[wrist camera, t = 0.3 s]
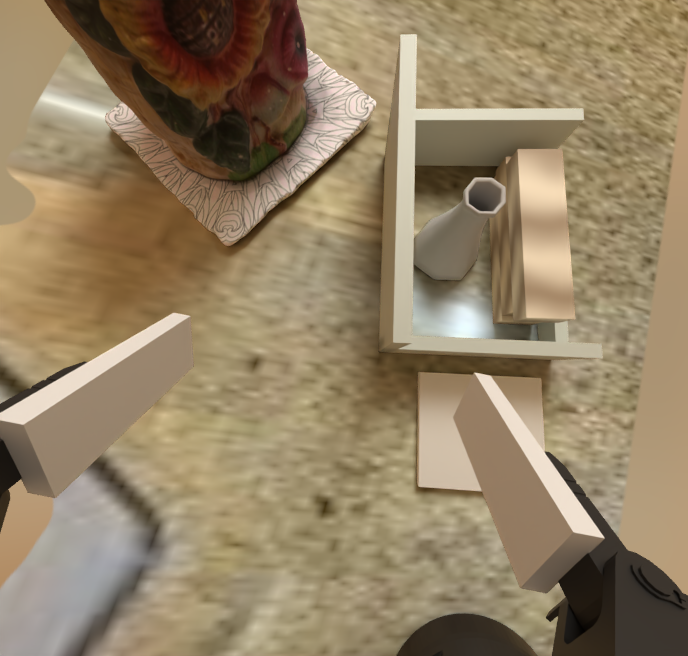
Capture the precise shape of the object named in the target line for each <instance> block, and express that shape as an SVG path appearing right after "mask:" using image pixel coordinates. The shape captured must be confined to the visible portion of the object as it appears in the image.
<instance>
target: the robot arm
mask: <svg viewBox="0 0 688 656" xmlns="http://www.w3.org/2000/svg"><path fill="white" fill-rule="evenodd" d="M193 367H194V361H193V346H192V332H191V317H190V316H188V315H183V314H178V313H172V314H171V315H169V316H167V317H165V318H164V319H162V320H160V321H158V322H157V323H155V324H153V325H151V326H150V327H148V328H146V329H145V330H143V331H141V332H139V333H138V334H136V335H134V336H132V337H131V338H129V339H127V340H126V341H124V342H122V343H120V344H119V345H117V346H115V347H113V348H112V349H110V350H108V351H107V352H105V353H103V354H101V355H100V356H98V357H96V358H94V359H93V360H91V361H89V362H82V363H79V364H76V365H73V366H70V367H67V368H64V369H62V370H61V371H59V372H57V373H55V374H53V375H52V376H50V377H48V378H47V379H46V380H43V381H41V382H39V383H37V384H35V385H33V386H32V388H31V389H26V390H24V391H23V392H21V393H19V394H17V395H15V396H14V397H12V398H10V399H8V400H6V401H5V402H3V403H1V404H0V532H1V528H2V525H3V522H4V518H5V515H6V511H7V508H8V504H9V501H10V492H9V490H8V489H9V488H10V487H11V486H13V485H14V484H15V483H16V482H18V481H19V480H20V479H21V480H22V481H23V484H24V486H25V487H26V489H27V491H28V493H32V494H37V495H42V496H47V497H52V498H56V497H57V496H58V495H59V494H60V493H62V492H63V491H64V490H65V489H66V488H67V487H68V486H69V485H70V484H71V483H72V482H73V481H74V480H75V479H76V478H77V477H78V476H79V475H80V474H81V473H82V472H84V471H85V470H86V469H87V468H88V467H89V466H90V465H91V464H92V463H93V462H94V461H95V460H96V459H97V458H98V457H99V456H100V455H101V454H102V453H103V452H105V451H106V450H107V449H108V448H109V447H110V446H111V445H112V444H113V443H114V442H115V441H116V440H117V439H118V438H119V437H120V436H121V435H122V434H123V433H124V432H125V431H127V430H128V429H129V428H130V427H131V426H132V425H133V424H134V423H135V422H136V421H137V420H138V419H139V418H140V417H141V416H142V415H143V414H144V413H145V412H146V411H147V410H149V409H150V408H151V407H152V406H153V405H154V404H155V403H156V402H157V401H158V400H159V399H160V398H161V397H162V396H163V395H164V394H165V393H166V392H167V391H168V390H170V389H171V388H172V387H173V386H174V385H175V384H176V383H177V382H178V381H179V380H180V379H181V378H182V377H183V376H184V375H185V374H186V373H187V372H188V371H189V370H190V369H192V368H193ZM453 419H454V422H455V424H456V427H457V429H458V432H459V434H460V437H461V439H462V442H463V444H464V447H465V449H466V452H467V455H468V457H469V460H470V462H471V465H472V467H473V470H474V472H475V475H476V477H477V480H478V482H479V485H480V488H481V490H482V493H483V495H484V498H485V500H486V503H487V505H488V508H489V510H490V513H491V515H492V518H493V521H494V523H495V526H496V528H497V531H498V533H499V536H500V538H501V541H502V543H503V546H504V548H505V551H506V554H507V556H508V559H509V561H510V564H511V566H512V569H513V571H514V574H515V576H516V579H517V581H518V584H519V587H520V588H522V589H527V590H533V591H538V592H543V593H548V592H549V591H550V590H551V589H552V588H553V587H554V586H555V585H556V584H557V583H558V582H559V584H560V586H561V588H562V590H563V592H564V594H565V596H566V597H565V598H564V599H563V600H562V601H561V602H560V603H559V604H557V605H556V606H555V607H554V608H553V609H552V610H551V611H549V613H548V615H547V616H546V618H547V619H548V620H549V621H550V622H551V621H552V620H553V619H554V618H556V617H557V616H558V621H557V627H556V633H555V640H554V646H553V652H552V656H688V595H686V594H683V593H682V592H681V590H680V589H679V588H678V586H677V585H676V584H675V583H674V582H673V581H672V580H671V579H670V578H669V577H668V576H667V575H666V574H665V573H664V572H663V571H662V570H661V569H659V568H658V567H657V566H656V565H654V564H653V563H652V562H650V561H649V560H647V559H646V558H644V557H642V556H640V555H639V554H637V553H634V552H631V551H628V550H627V549H626V548H625V546H624V545H623V544H622V542H621V541H620V539H619V538H618V537H617V535H616V534H615V533H614V531H613V530H612V529H611V527H610V526H609V525H608V523H607V522H606V521H605V519H604V518H603V517H602V515H601V514H600V513H599V511H598V510H597V509H596V507H595V506H594V505H593V503H592V502H591V501H590V499H589V498H588V497H586V494H585V492H584V491H583V490H582V488H581V487H580V486H579V484H576V480H575V479H574V478H573V476H572V475H571V474H570V472H569V471H568V470H567V468H566V467H565V466H564V465H563V464H562V463H561V462H560V461H559V460H558V459H556V458H555V457H554V456H553V455H552V454H551V453H550V452H545V451H543V450H542V448H541V447H540V445H539V444H538V442H537V441H536V440H535V438H534V437H533V435H532V434H531V433H530V431H529V430H528V428H527V427H526V425H525V424H524V423H523V421H522V420H521V418H520V417H519V415H518V414H517V413H516V411H515V410H514V408H513V407H512V405H511V404H510V403H509V401H508V400H507V398H506V397H505V396H504V394H503V393H502V391H501V390H500V388H499V387H498V386H497V384H496V383H495V381H494V380H493V378H492V377H491V376H490V375H485V374H479V373H474V374H473V376H472V378H471V380H470V382H469V384H468V387H467V389H466V391H465V393H464V395H463V397H462V399H461V401H460V404H459V406H458V408H457V410H456V412H455V414H454V416H453ZM397 656H537V655H536V653H535V652H534V651H533V649H532V648H531V647H530V646H529V645H528V644H527V643H526V642H525V641H524V640H523V639H522V638H521V637H520V636H519V635H518V634H516V633H515V632H514V631H513V630H511V629H510V628H508V627H507V626H505V625H503V624H501V623H499V622H497V621H495V620H493V619H490V618H487V617H484V616H479V615H474V614H452V615H447V616H443V617H440V618H437V619H435V620H433V621H430V622H429V623H427V624H425V625H424V626H422V627H421V628H419V629H418V630H417V631H416V632H415V633H414V634H413V635H412V636H411V637H410V638H409V639H408V640H407V641H406V642H405V644H404V645H403V647H402V648H401V650H400V651H399V653H398V655H397Z"/></svg>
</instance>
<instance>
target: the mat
mask: <svg viewBox="0 0 688 656" xmlns="http://www.w3.org/2000/svg"><path fill="white" fill-rule="evenodd" d="M472 376H473V375H470V374H450V373H430V372H418V422H417V485H418V487H429V488H442V489H456V490H470V491H482V490H481V488H480V485H479V482H478V480H477V477H476V475H475V472H474V470H473V467H472V465H471V462H470V460H469V457H468V455H467V452H466V449H465V447H464V444H463V442H462V439H461V437H460V434H459V432H458V429H457V427H456V424H455V422H454V419H453V416H454V414H455V412H456V410H457V408H458V406H459V404H460V401H461V399H462V397H463V395H464V393H465V391H466V389H467V387H468V384H469V382H470V380H471V378H472ZM491 377H492V378H493V380H494V381H495V383H496V384H497V386H498V387H499V388H500V390H501V391H502V393H503V394H504V396H505V397H506V398H507V400H508V401H509V403H510V404H511V405H512V407H513V408H514V410H515V411H516V413H517V414H518V415H519V417H520V418H521V420H522V421H523V423H524V424H525V425H526V427H527V428H528V430H529V431H530V433H531V434H532V435H533V437H534V438H535V440H536V441H537V442H538V444H539V445H540V447H541V448H542V450H543V451H545V444H544V424H543V403H542V382H541V378H531V377H510V376H491Z"/></svg>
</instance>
